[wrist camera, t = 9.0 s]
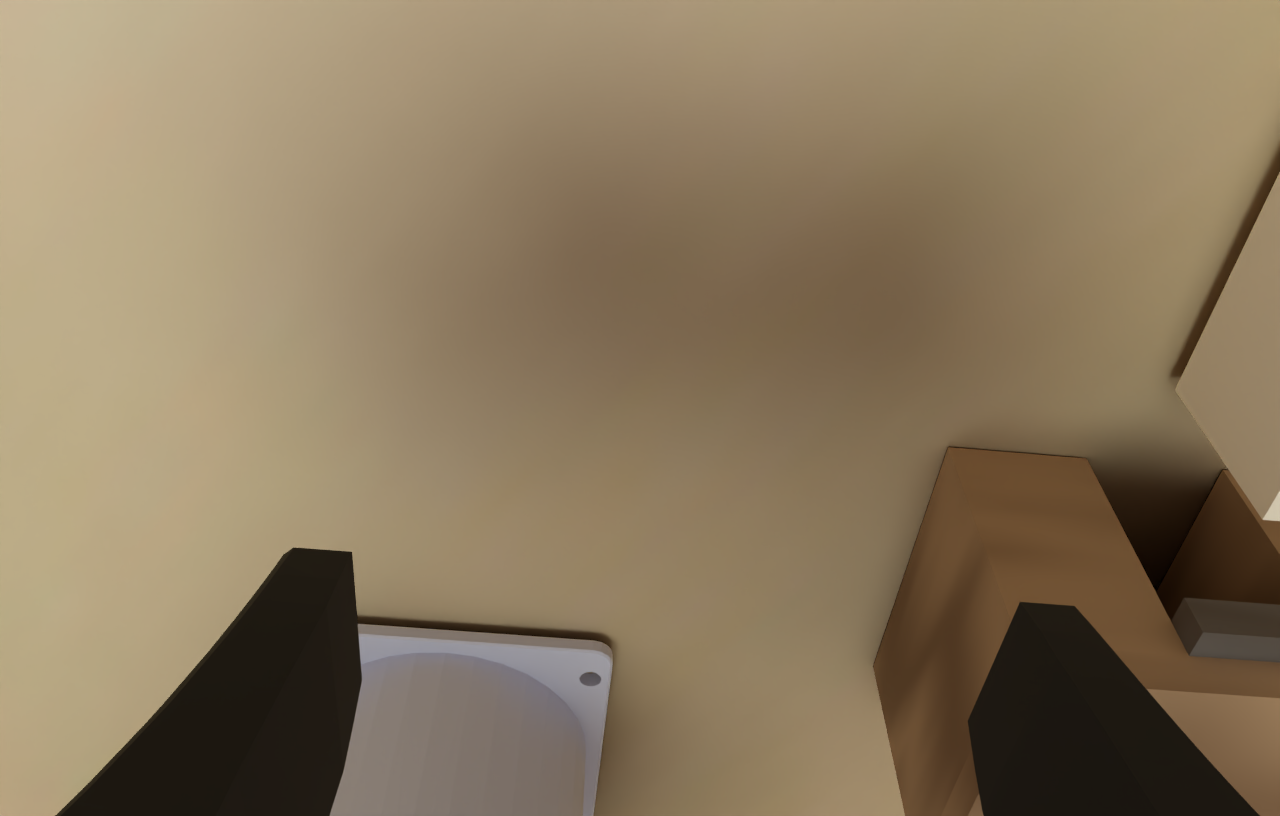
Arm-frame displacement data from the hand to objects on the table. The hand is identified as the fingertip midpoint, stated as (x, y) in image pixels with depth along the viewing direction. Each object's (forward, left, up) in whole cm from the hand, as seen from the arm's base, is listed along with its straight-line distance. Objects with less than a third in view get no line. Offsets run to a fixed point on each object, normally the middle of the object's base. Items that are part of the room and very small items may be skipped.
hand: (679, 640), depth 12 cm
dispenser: (-8, -11, -10) cm, 17 cm away
